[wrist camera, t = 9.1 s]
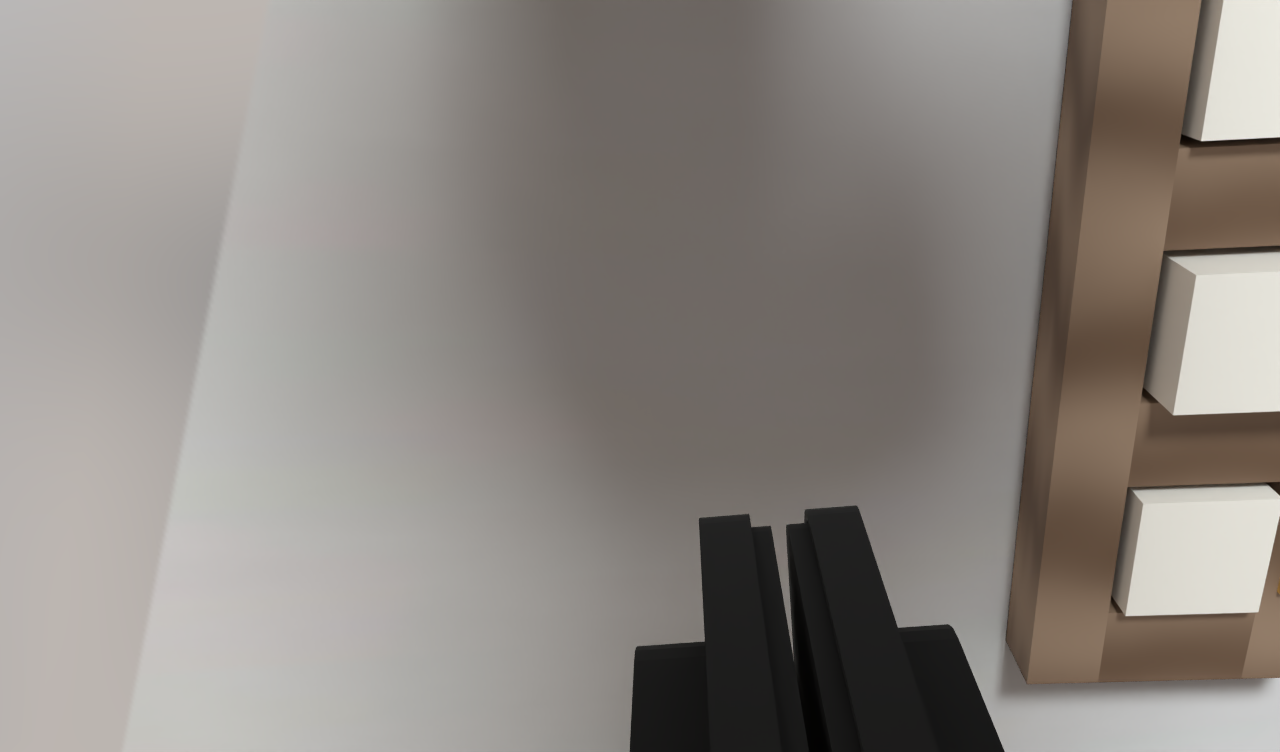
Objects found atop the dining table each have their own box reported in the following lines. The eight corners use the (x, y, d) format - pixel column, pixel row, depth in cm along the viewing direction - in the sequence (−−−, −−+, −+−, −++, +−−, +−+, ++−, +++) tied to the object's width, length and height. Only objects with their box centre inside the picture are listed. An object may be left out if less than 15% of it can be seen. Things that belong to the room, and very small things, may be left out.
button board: (1088, -154, 28) (1129, -163, 25) (1462, -178, 27) (1541, -190, 25) (1006, 640, 39) (1028, 688, 36) (1274, 632, 38) (1316, 680, 36)
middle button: (1157, 250, 31) (1196, 275, 29) (1305, 243, 31) (1356, 268, 28) (1137, 382, 33) (1172, 415, 30) (1277, 376, 32) (1324, 409, 30)
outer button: (1112, 467, 35) (1143, 504, 33) (1243, 462, 35) (1283, 499, 32) (1096, 574, 37) (1125, 616, 34) (1220, 570, 36) (1258, 612, 34)
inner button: (1183, -32, 29) (1228, -29, 26) (1343, -41, 28) (1402, -40, 26) (1161, 126, 30) (1201, 141, 28) (1311, 118, 30) (1364, 133, 28)
